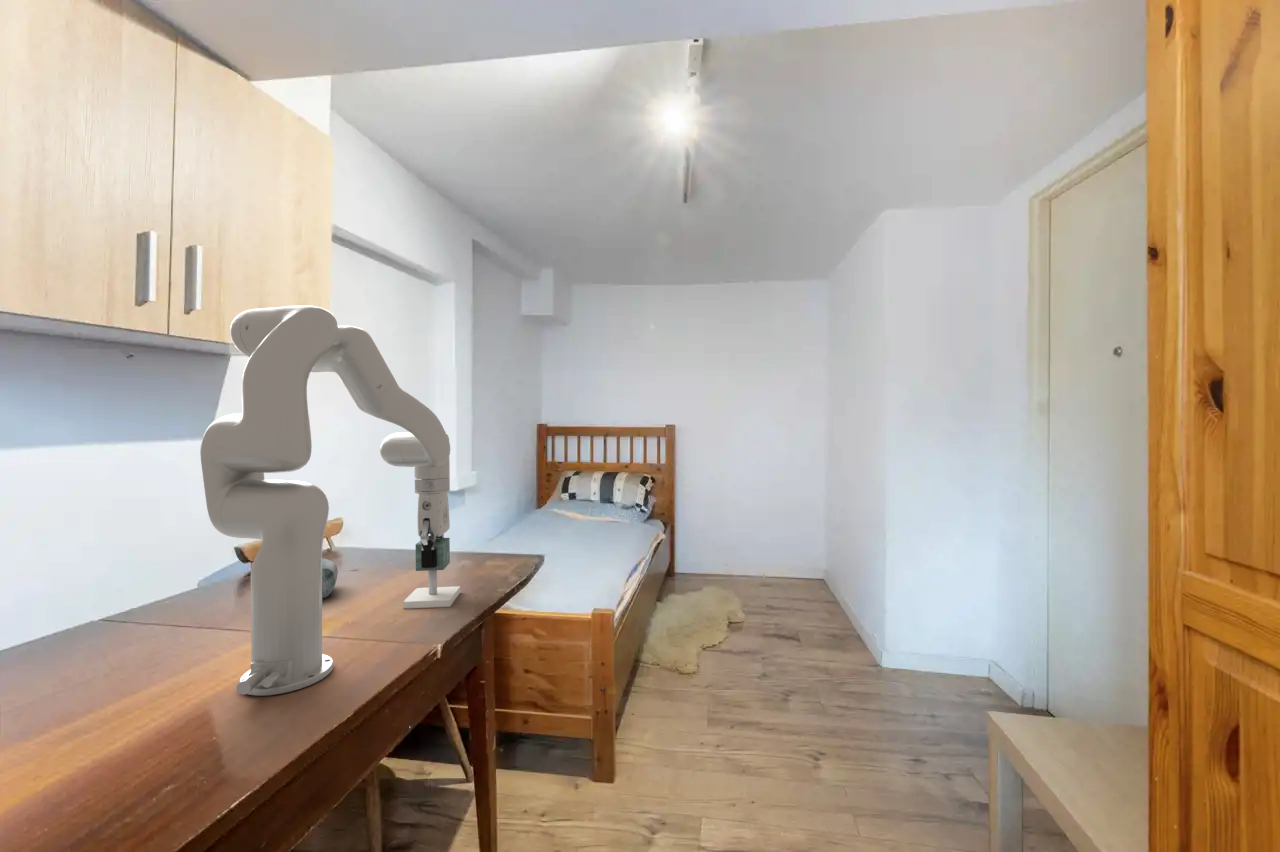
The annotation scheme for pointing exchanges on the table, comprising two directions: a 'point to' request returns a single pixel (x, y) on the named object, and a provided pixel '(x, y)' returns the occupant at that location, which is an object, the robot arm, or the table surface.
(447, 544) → the bead
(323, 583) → the spool
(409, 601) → the white peg stand
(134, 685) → the table surface
